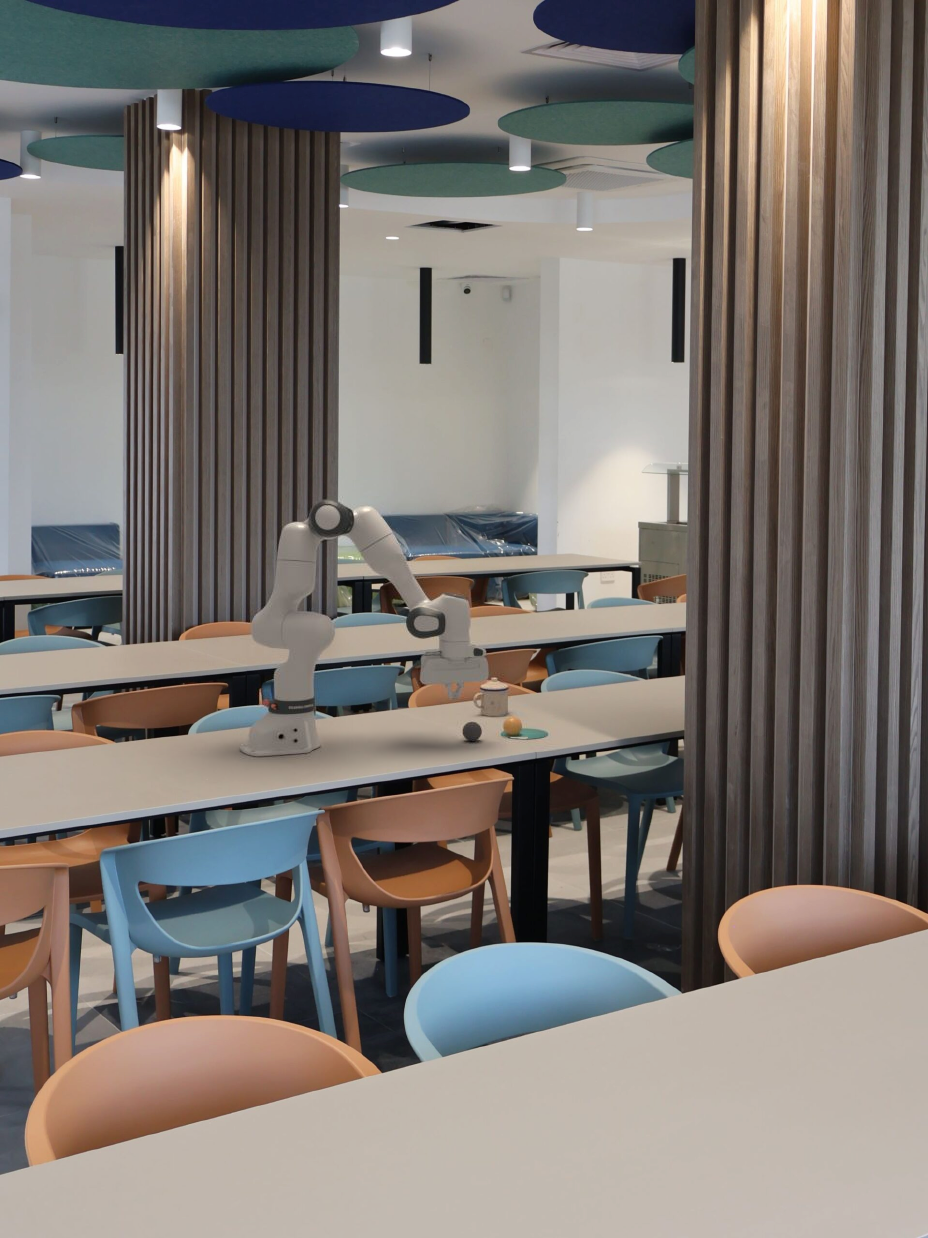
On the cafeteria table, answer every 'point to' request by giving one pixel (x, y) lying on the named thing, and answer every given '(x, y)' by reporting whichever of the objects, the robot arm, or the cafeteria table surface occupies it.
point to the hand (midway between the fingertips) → (454, 698)
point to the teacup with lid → (493, 698)
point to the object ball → (512, 726)
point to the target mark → (528, 733)
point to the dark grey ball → (472, 731)
